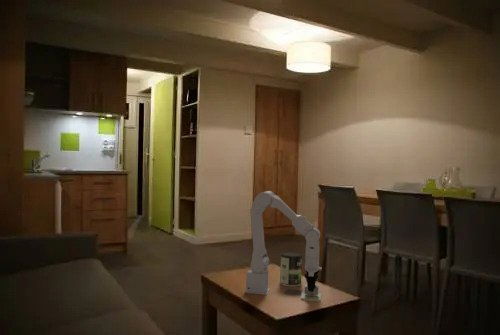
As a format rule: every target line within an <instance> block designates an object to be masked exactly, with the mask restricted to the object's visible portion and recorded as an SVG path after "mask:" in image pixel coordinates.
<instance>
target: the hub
mask: <svg viewBox="0 0 500 335" xmlns="http://www.w3.org/2000/svg"><path fill="white" fill-rule="evenodd" d="M300 300H301V301H307V302H308V301H309V302H317V303H318V302H319V303H321V300H322V293H319V292H318V295H316V296H310V295H306V294H304V291H302V292H301V295H300Z"/></svg>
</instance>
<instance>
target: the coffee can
mask: <svg viewBox="0 0 500 335" xmlns="http://www.w3.org/2000/svg"><path fill="white" fill-rule="evenodd" d="M279 266H280V267H279V268H280V270H279V271H280V273H279V275H280V276H279V283H280V285H283V286H286V287H299V286H301V285H302V274H303V273H302V270H303V253H300V252H298V251H297V252H296V251H282V252H280V265H279Z"/></svg>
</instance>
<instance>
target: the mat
mask: <svg viewBox="0 0 500 335" xmlns="http://www.w3.org/2000/svg"><path fill="white" fill-rule="evenodd" d="M302 292H303V291H302V289H293V288H285V290H284V293H283V294H285V295H291V296H292V295H293V296H301V295H302Z"/></svg>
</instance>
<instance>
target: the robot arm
mask: <svg viewBox="0 0 500 335" xmlns="http://www.w3.org/2000/svg"><path fill="white" fill-rule="evenodd" d="M268 207H270V208H274V209H278V210H279V211H280V212H281V213H282V214H284V216H286V217H287V218H288V219H289V220H290V221H291V225H292V226H293V227H294V229H296V230H297V231H298V232H299V233H300V234H302V236H304V238H305V240H306V241H305V242H306V243H305V244H306V245H305V257H304V258H305V260H304V261H305V262H304V264H305V266H304V270H305V273H304V277H305V280H306V284H307V286H308V291H311V292H313V291H314V288H315V285H316V282H317V279H318V278H319V275H318V274H319V272H320V271H322V269H323V268H322V267H320V248H321V247H320V238H321V231H320V230H319V228H318V227H316V226H315V225H314V224H312V223H310V221H308V219H307V217H306V216H305V215H302V214H296V213H295V211H293V209H292V208H290V206H288V205H287V203H286V202H284V200H282V198H280V196H278V195H277V194H275V193H274V192H273V191H272V190H266V191H262V192H259V193H258V194H257V195H256V196H254V200H253V203H252V205H251V207H250V210H249V212H250V222H251V223H250V224H251V226H250V227H251V235H252V236H251V237H252V247H253V249H252V250H253V251H252V254H251V257H252V258H251V262H250V268H251V269H250V270H247V272H246V279H245V293H246V294H247V293H248V294H254V295H263V296H264V295H265V296H266V295H268V293H269V292H270V290H271V288H270V287H269V269H268V267H269V265H270V263H271V262H270V258H269V255H268V251H267V249H266V246H265V244H266V243H265V233H264V222H263V221H264V220H263V213H264V211H266V209H267V208H268Z"/></svg>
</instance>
